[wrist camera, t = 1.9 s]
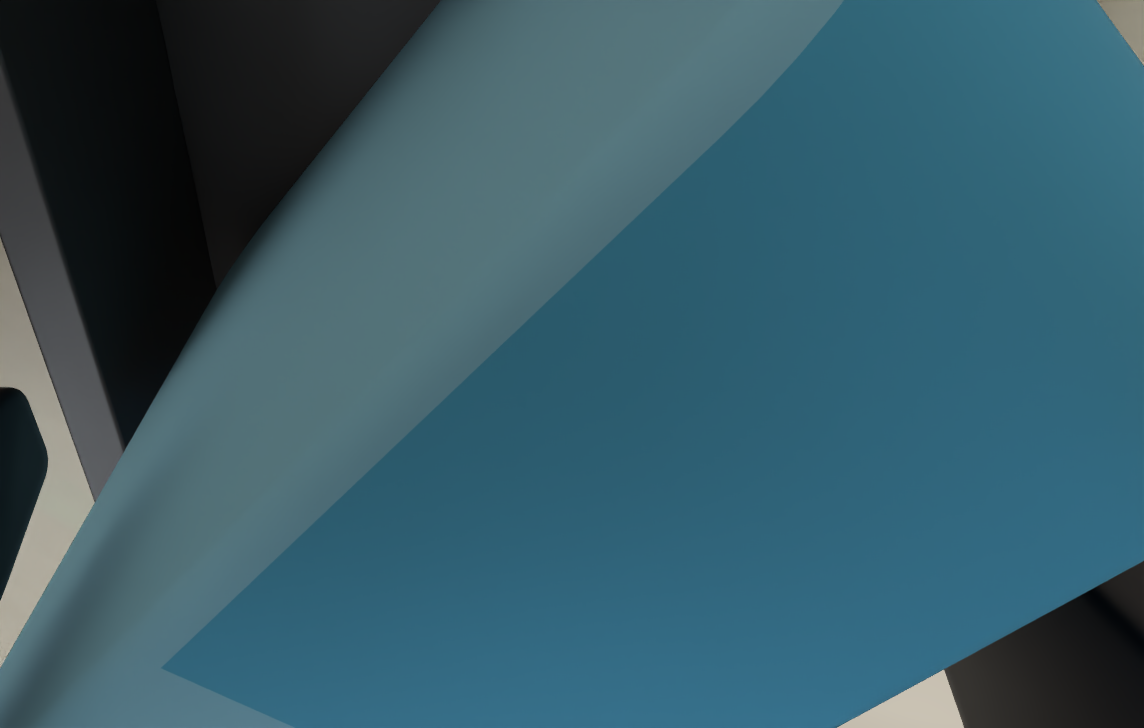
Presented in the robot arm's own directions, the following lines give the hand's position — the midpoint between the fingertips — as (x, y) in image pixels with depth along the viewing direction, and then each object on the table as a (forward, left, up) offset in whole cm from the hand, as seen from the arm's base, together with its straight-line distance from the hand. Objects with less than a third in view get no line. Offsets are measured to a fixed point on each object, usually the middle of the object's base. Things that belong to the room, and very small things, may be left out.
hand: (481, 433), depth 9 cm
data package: (0, 0, -9) cm, 9 cm away
